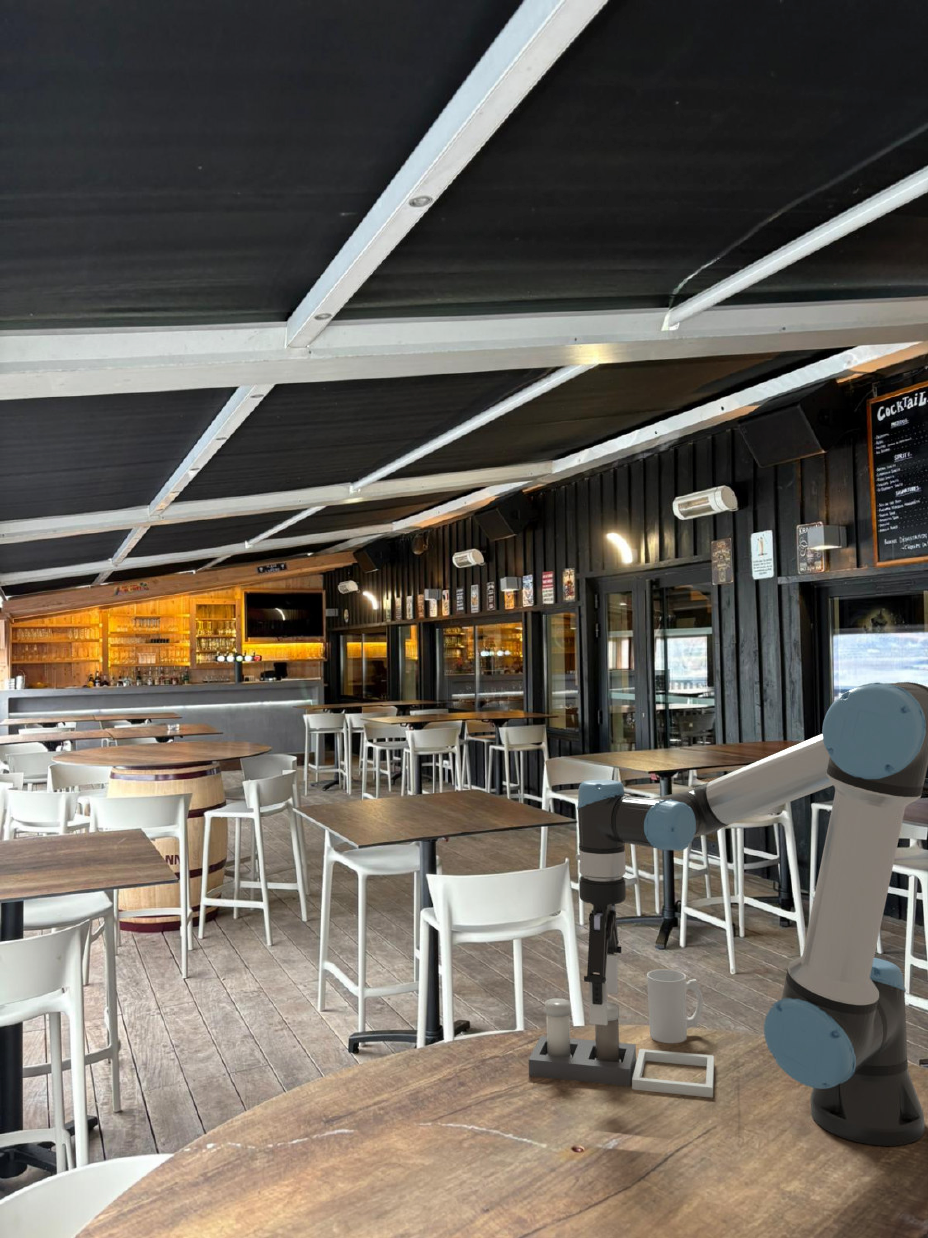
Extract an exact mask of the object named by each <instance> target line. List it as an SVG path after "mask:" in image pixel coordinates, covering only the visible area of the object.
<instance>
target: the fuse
mask: <svg viewBox="0 0 928 1238" xmlns="http://www.w3.org/2000/svg"><path fill="white" fill-rule="evenodd" d="M571 1008H572V1007H571V1001H570V1000H568V999H566V998H558V997H557V998H555V997H554V998H549V999H547V1000H545V1002H544V1014H546V1019H545V1021H546V1036H547V1054H546V1055H548V1056H559V1057H569V1058H572V1055H571V1052H570V1038H571V1029H570V1028H571V1025H570V1024H571V1023H570V1019H571V1018H570V1014H571Z"/></svg>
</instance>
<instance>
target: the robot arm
mask: <svg viewBox="0 0 928 1238" xmlns="http://www.w3.org/2000/svg"><path fill="white" fill-rule="evenodd" d="M821 732H822V733H820V734H819V735H816V736H813V737H811V738H809V739H807V740H804V741H801V742H800V743H797V744H795V745H792V746H790V747H788V748H786V749H783V750H781V751H778V752H776V753H774V754H771V755H769V756H767V757H764V758H761V759H760V760H757V761H755V762H753V763H750V764H748V765H745V766H743V767H740V768H739V769H737V770H733V771H731V772H730V773H727V774H725V775H722V776H720V777H718V778H716V779H713V780H711V781H709V782H706V783H704V784H701V785H699V786H696V787H693V788H691V789H688V790H685V791H681V792H678V793H672V794H667V795H662V796H657V797H640V796H632V795H631V796H630V795H627V794H626V793H625V787H624V784H623V783H622V782H621V781H618V780H614V779H591V780H590V779H589V780H584V781H583V782H581V783H580V784H579V787H578V797H577V798H578V799H577V807H576V809H577V823H578V837H579V838H578V840H579V843H578V850H579V851H578V853H577V854H575V859H576V861H579V865H578V868H579V869H578V870H579V871H578V872H579V873H580V874H581V876H580V877H579V879H578V881H579V882H578V886H579V887H578V891H579V893H578V895H579V896H578V897H579V898H580V900H581V901H582V902H584V903H587V904H591V905H592V907H593V908H591V911H590V912H589V915H588V923H589V930H588V931H589V932H588V951H587V953H588V955H587V974H586V975H584V976H583V982H584V983H585V982H586V983H588V1001H589V1004H588V1005H589V1006H588V1007H589V1009H588V1010H589V1011H588V1012H589V1013H588V1014H589V1015H588V1016H589V1024H591V1025H595V1024H599V1025H607V1024H608V1016H607V1002H608V995H614V996H615V995H616V996H617V995H619V987H618V986H619V983H618V982H619V980H618V977H619V976H618V975H619V974H618V954H622V946H619V944H620V941H619V936H618V925H617V923H618V922H617V910H616V905H619V904H621V903H623V902H624V901H626V897H627V894H626V893H627V892H626V891H627V890H626V889H627V888H626V879H625V877H624V875H626V870H627V868H626V865H627V864H626V848H625V847H626V846H625V845H626V844H627V845H635V846H641V847H647V848H652V849H657V850H660V851H665V852H666V851H676V852H677V851H685V850H686V849H687V848H689V846H690V844H691V843H692V842H693V840H694V838H697V837H700V836H701V837H702V836H708V835H711V834H714V833H717V832H718V831H720V830H722V829H723V828H725V827H728V826H730V825H733V824H735V823H738V822H740V821H741V822H742V821H743V820H745V819H748V818H751V817H754V816H755V815H759V814H761V813H764V812H766V811H769V810H771V809H774V808H777V807H780V806H782V805H785V804H788V803H790V802H793V801H795V800H798V799H800V798H802V797H806V796H808V795H811V794H814V793H816V792H819V791H821V790H822V791H823V790H824V789H826V788H830V787H832V786H833V788H834V790H835V791H834V797H833V802H832V805H831V807H832V808H831V811H830V816H829V822H828V826H827V830H826V831H827V832H826V836H825V842H824V847H823V851H822V856H821V862H820V867H819V871H818V877H817V881H816V885H815V893H814V896H813V901H812V907H811V911H810V915H809V921H808V926H807V931H806V937H805V943H804V946H803V952H802V955H800V956H799V957H798V958H795V959H793V960H791V961H790V962H789V963H788V965H787V970H786V975H785V979H784V985H783V989H782V994H781V998H780V999H779V1000H778V1001H775V1002H774V1003H772V1007H770V1008H769V1010H768V1012H767V1014H766V1015H765V1018H764V1024H763V1034H764V1040H765V1043H766V1046H767V1048H768V1050H769V1053H770V1054H772V1056H773V1058H774V1059H775V1062H776V1064H777V1065H778V1067H779V1068H780V1069H781V1070H782V1071H784V1073H785V1074H786V1075H787V1076H789V1077H790V1078H791V1079H792V1080H794V1081H795V1082H798V1083H800V1084H801V1085H803V1086H805V1087H809V1088H812V1090H811V1095H810V1113H811V1117H812V1119H813V1120H814V1121H815V1123H816V1124H818V1125H819V1126H820V1127H822V1129H824V1130H826V1131H827V1132H829V1133H831V1134H833V1135H836V1136H837V1137H839V1138H843V1139H845V1140H849V1141H852V1142H856V1143H861V1144H867V1145H872V1146H884V1147H889V1146H903V1145H907V1144H911V1143H914V1142H916V1141H917V1140H920V1139H921V1138H922V1137H923V1135H924V1134H925V1130H926V1129H925V1114H924V1110H923V1107H922V1104H921V1102H920V1099H919V1096H918V1093H917V1091H916V1089H915V1086H914V1084H913V1080H912V1078H911V1074H910V1073H909V1065H908V1063H909V1062H908V1041H907V1038H908V1036H907V1017H906V1015H907V1014H906V1013H907V1012H906V997H905V996H906V995H905V993H906V991H907V989H906V987H905V983H904V975H903V971H902V970H901V967H899V966H898V965H896V964H895V963H893V962H891V961H888V960H886V959H883V958H882V959H881V958H878V957H875V954H876V949H877V946H878V945H877V944H878V939H879V936H880V935H879V934H880V930H881V926H882V922H883V921H882V920H883V916H884V912H885V911H884V910H885V907H886V902H887V897H888V892H889V887H890V882H891V878H892V877H891V876H892V875H893V867H894V863H895V859H896V854H897V849H898V843H899V840H900V834H901V831H902V830H901V829H902V825H903V820H904V816H905V810H906V807H907V806H908V805H910V804H911V803H914V802H916V801H917V800H919V799H921V797H922V793H923V788H924V784H925V780H926V776H927V775H926V774H927V771H928V686H926V685H924V684H920V683H918V682H910V681H904V682H903V681H902V682H901V681H899V682H895V683H894V682H889V683H888V682H883V683H882V682H879V681H878V682H871V683H870V682H869V683H866V684H861V685H859V686H856V687H855V688H851V689H849V690H848V691H846V692H844V693H842V694H841V695H840V696H838V697H837V698H836V699H835V700H834V701H833V703H831V705H830V706H829V708H828V710H827V711H826V714H825V716H824V719H823V722H822V731H821Z"/></svg>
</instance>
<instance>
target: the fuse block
mask: <svg viewBox="0 0 928 1238" xmlns="http://www.w3.org/2000/svg"><path fill="white" fill-rule="evenodd" d="M534 1046H535V1047H534V1048H533V1049H532V1052H531V1054H530V1056H529V1057H528V1076H529V1077H534V1078H535V1077H536V1078H537V1077H538V1078H547V1079H558V1080H564V1081H565V1080H567V1081H575V1082H576V1081H577V1082H586V1083H596V1084H605V1085H606V1084H607V1085H614V1086H615V1085H616V1086H625V1087H630V1086H631V1083H632V1078H633V1074H634V1070H635V1065H636V1061H637V1047H636V1043H627V1042H619V1055H620V1060H621V1062H611V1061H601V1060H595V1058H596V1044H595V1040H594V1039H593V1040H592V1039H582V1038H571V1037H570V1052H571V1055H572V1058H569V1057H559V1056H548V1055H546V1054H547V1035H540V1037H539V1038H538V1041H537V1042H536V1044H535V1045H534Z"/></svg>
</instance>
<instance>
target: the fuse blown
mask: <svg viewBox="0 0 928 1238" xmlns="http://www.w3.org/2000/svg"><path fill="white" fill-rule="evenodd" d="M607 1016H608V1024H607V1025H599V1024H594V1036H595V1037H594V1038H595V1044H596V1058H595V1060H601V1061H611V1062H621V1060H620V1055H619V1043H620V1030H619V1028H620V1026H619V1019H620V1005H619V1004H617V1003H614V1002H609V1001H607Z"/></svg>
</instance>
